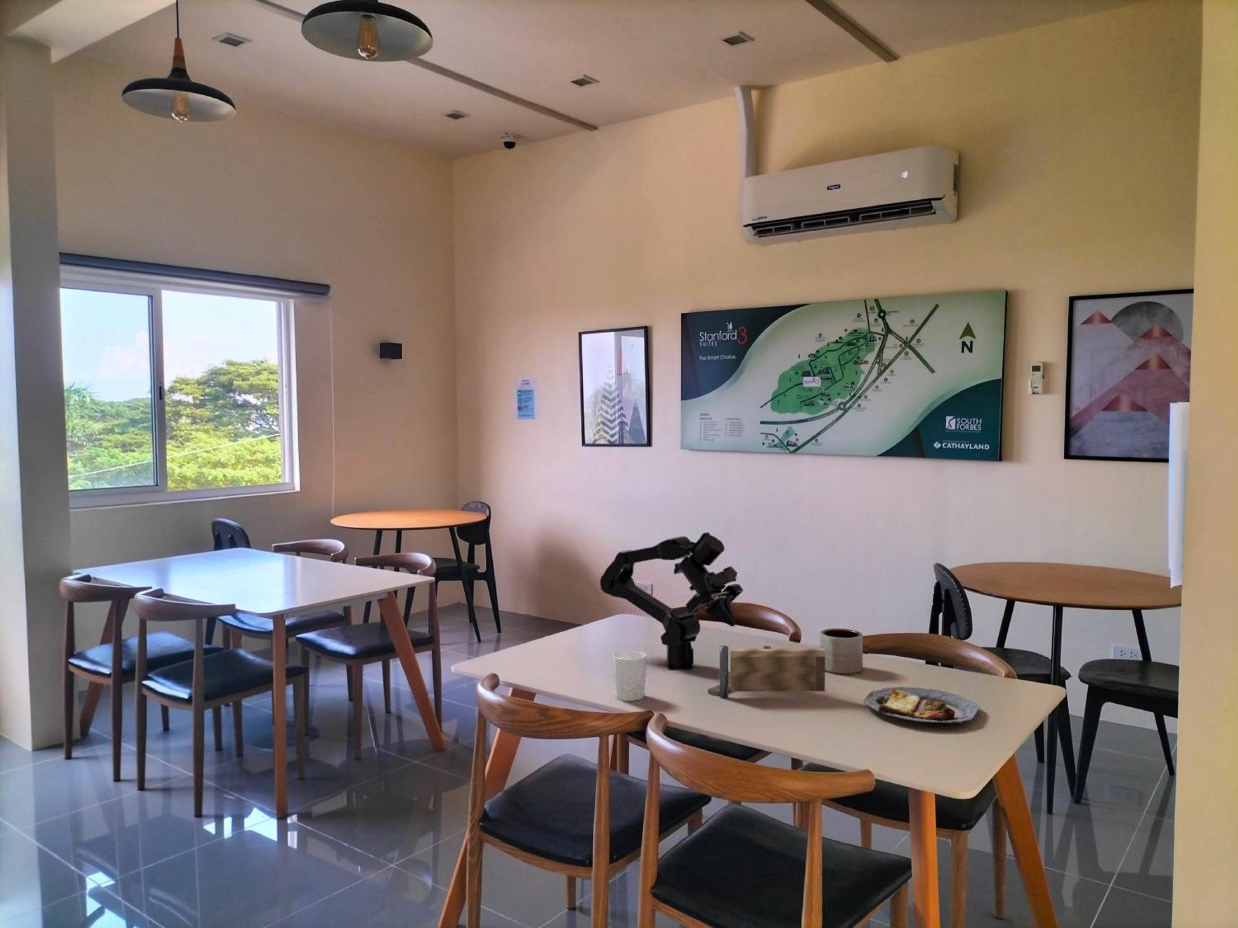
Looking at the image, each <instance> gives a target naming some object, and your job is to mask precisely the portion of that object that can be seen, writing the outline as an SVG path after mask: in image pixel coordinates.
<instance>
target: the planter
mask: <svg viewBox="0 0 1238 928" xmlns="http://www.w3.org/2000/svg"><path fill="white" fill-rule="evenodd" d="M819 634H820V639H819V640H820V641H819V642H820V643H819V646H820V647H819V649H824V650H825V672H827V673H831V674H835V675H855V673H856V674H858V673H860V672H861V671H862V670H863V667H864V666H863V664H864V663H863V659H864V658H863V656H864V654H863V652H864V651H863V645H864V644H863V642H864V641H863V639H864V638H863V633H862V632H860V631H857V630H853V629H849V628H848V629H847V628H827V629H823V630H821V631H820V633H819Z"/></svg>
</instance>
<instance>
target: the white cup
mask: <svg viewBox="0 0 1238 928" xmlns="http://www.w3.org/2000/svg"><path fill="white" fill-rule="evenodd" d="M612 661H613V679H614V680H613V681H614V690H615V691H614V693H615V694H614V695H615V698H616V699H617V700H619V701H625V702H636V701H635V700H637V701H639V700H642V698H643V699H644V697H645V687H646V677H647V676H646V674H647V672H646V671H647V654H646V653H645V652H643V651H637V650H621V651H617V652H615V653H613V654H612Z"/></svg>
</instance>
